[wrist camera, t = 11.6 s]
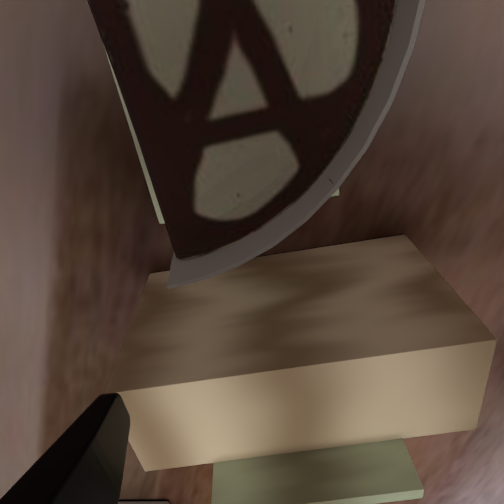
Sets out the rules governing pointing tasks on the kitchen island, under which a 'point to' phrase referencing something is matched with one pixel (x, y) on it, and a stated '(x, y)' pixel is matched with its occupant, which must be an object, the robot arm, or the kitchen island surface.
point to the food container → (252, 110)
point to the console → (303, 373)
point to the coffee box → (143, 502)
